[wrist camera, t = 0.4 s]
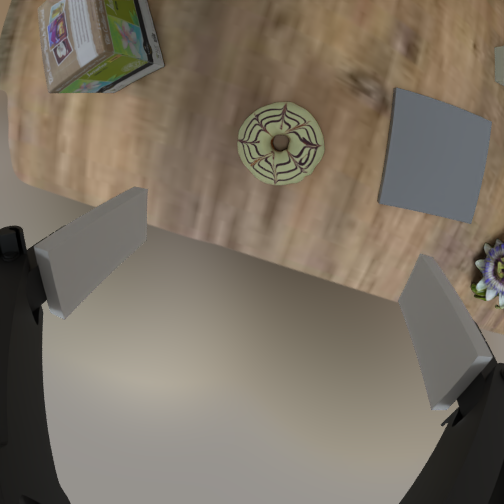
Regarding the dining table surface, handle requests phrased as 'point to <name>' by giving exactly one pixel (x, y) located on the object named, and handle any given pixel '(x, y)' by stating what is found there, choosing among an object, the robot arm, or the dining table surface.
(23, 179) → the dining table surface
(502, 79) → the sage block
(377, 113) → the dining table surface
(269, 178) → the decorated donut
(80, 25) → the tea box
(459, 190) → the slate plate
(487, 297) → the passion flower
